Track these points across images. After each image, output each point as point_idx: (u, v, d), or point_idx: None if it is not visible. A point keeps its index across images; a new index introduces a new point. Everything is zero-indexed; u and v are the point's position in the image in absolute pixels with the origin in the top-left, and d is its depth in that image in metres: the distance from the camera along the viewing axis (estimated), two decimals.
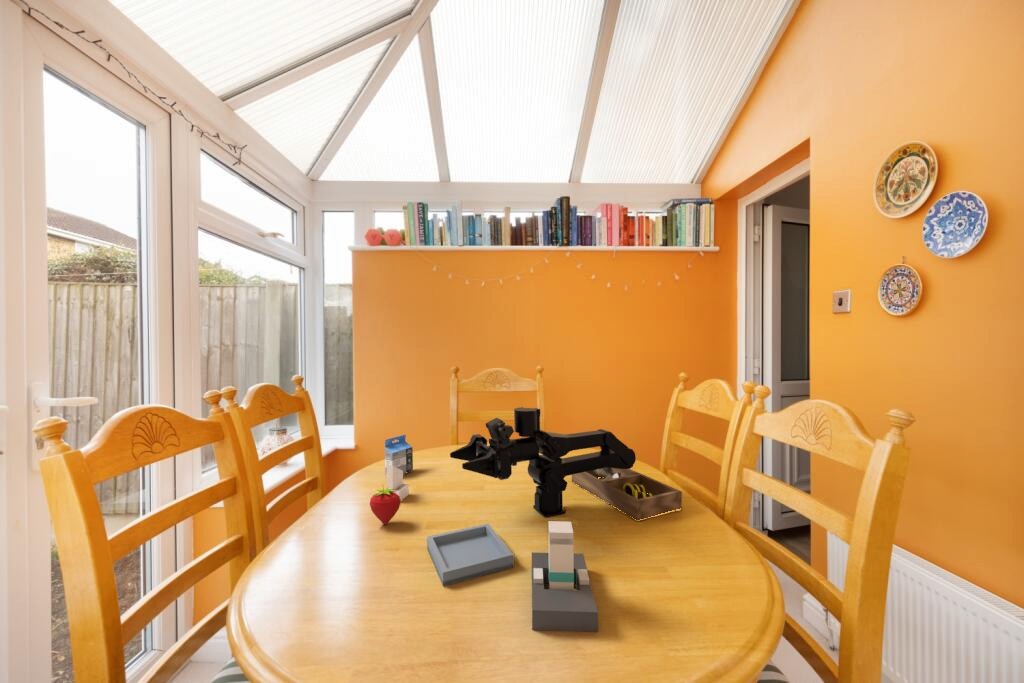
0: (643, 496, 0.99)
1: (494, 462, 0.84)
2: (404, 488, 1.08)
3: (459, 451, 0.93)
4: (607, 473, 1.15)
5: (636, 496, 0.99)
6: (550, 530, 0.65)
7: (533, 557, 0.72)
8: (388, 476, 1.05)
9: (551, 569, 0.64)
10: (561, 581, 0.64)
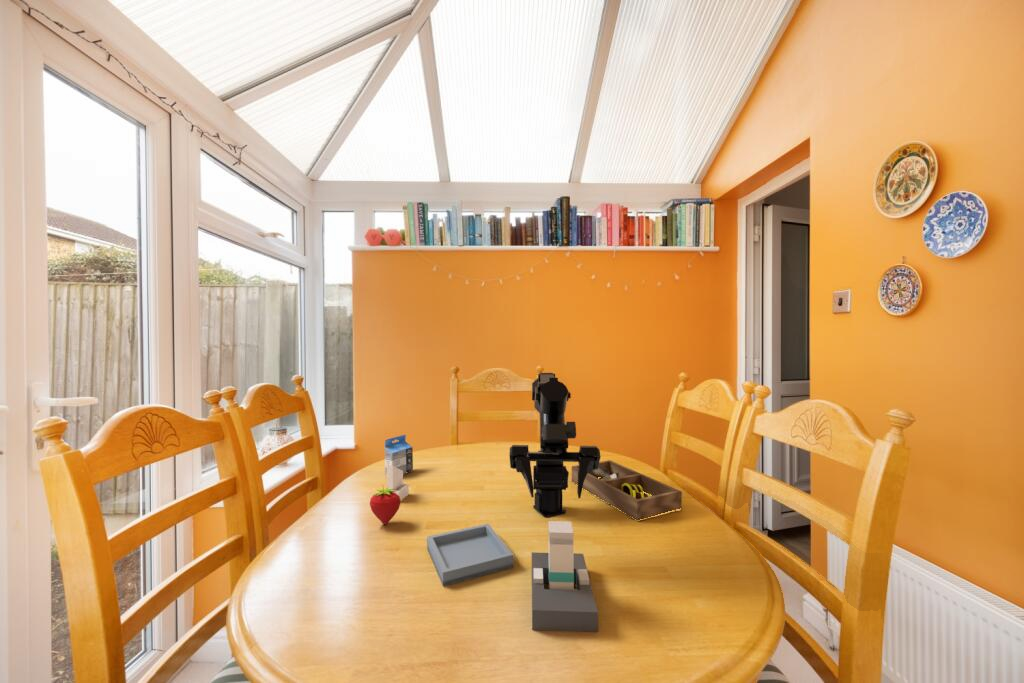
0: (641, 496, 0.99)
1: (592, 465, 0.78)
2: (404, 488, 1.08)
3: (532, 483, 0.76)
4: (605, 473, 1.15)
5: (634, 496, 0.98)
6: (550, 530, 0.65)
7: (533, 557, 0.72)
8: (388, 476, 1.05)
9: (551, 569, 0.64)
10: (561, 581, 0.64)
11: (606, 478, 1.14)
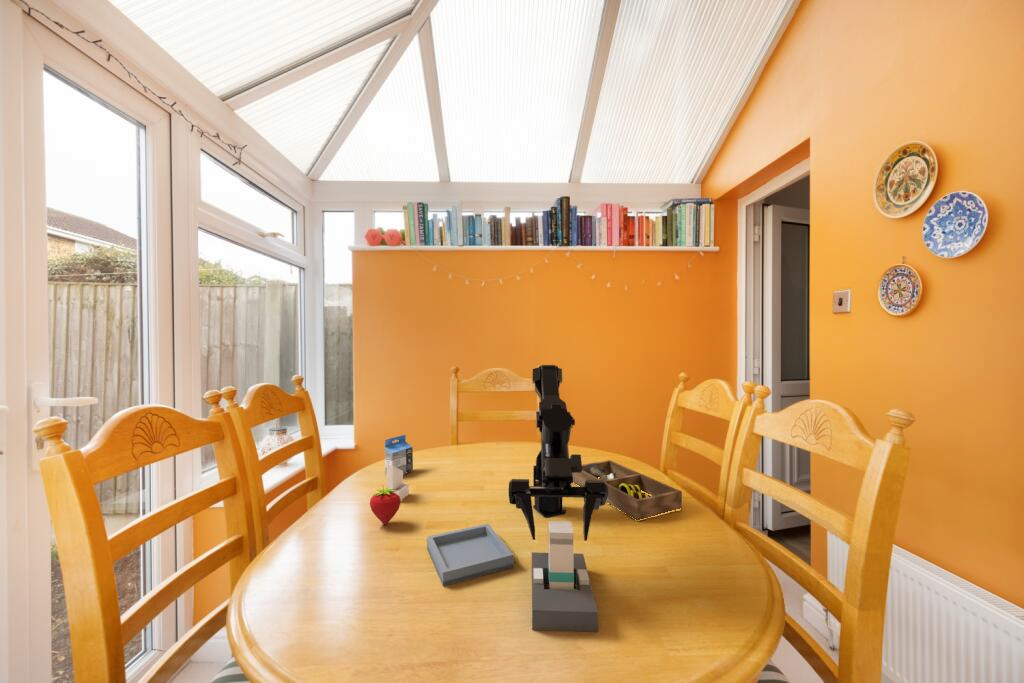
0: (639, 496, 0.99)
1: (599, 502, 0.71)
2: (404, 488, 1.08)
3: None
4: (602, 473, 1.15)
5: (632, 496, 0.98)
6: (550, 530, 0.65)
7: (533, 557, 0.72)
8: (388, 476, 1.05)
9: (551, 569, 0.64)
10: (561, 581, 0.64)
11: (603, 478, 1.14)
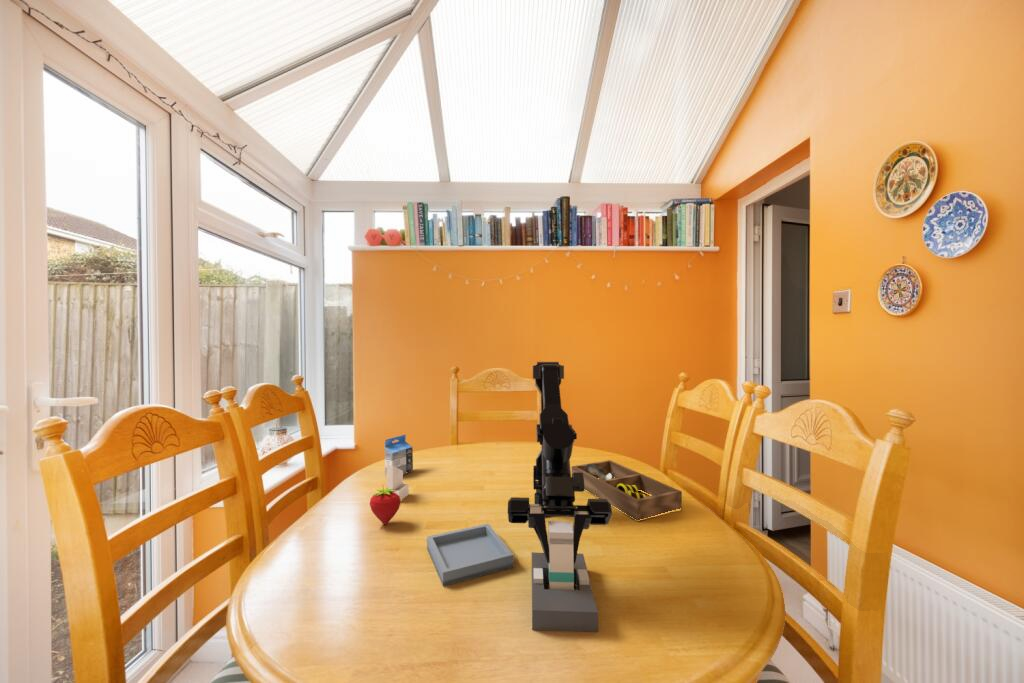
0: (637, 497, 0.99)
1: (589, 522, 0.68)
2: (404, 488, 1.08)
3: (548, 546, 0.66)
4: (600, 473, 1.15)
5: None
6: (550, 530, 0.65)
7: (533, 557, 0.72)
8: (388, 476, 1.05)
9: (551, 569, 0.64)
10: (561, 581, 0.64)
11: (601, 478, 1.14)
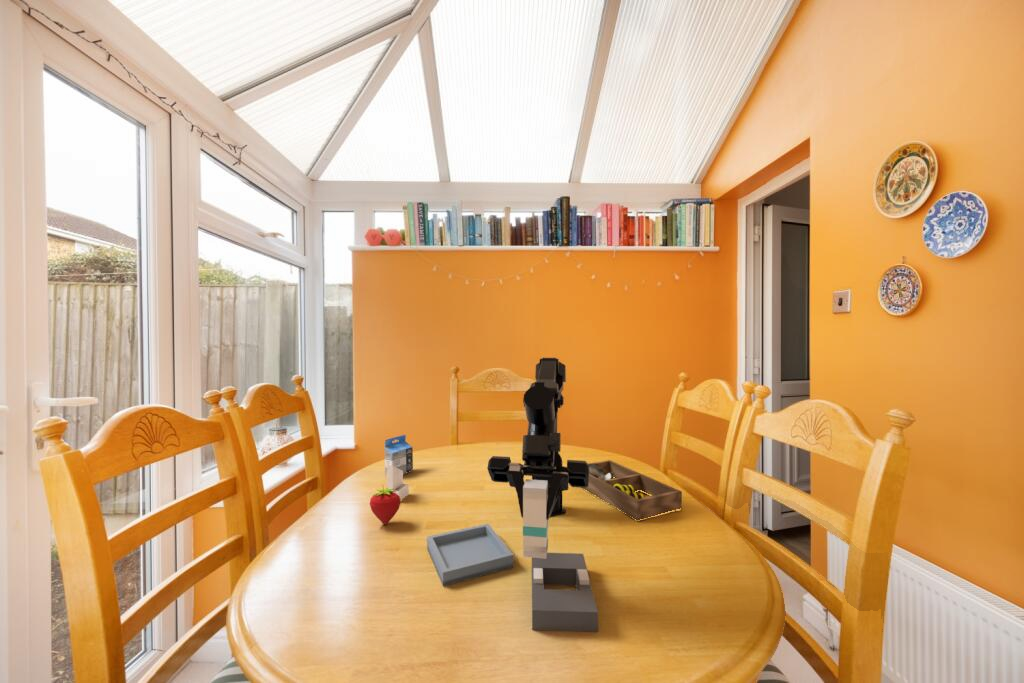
0: (635, 496, 0.99)
1: (566, 482, 0.69)
2: (404, 488, 1.08)
3: None
4: (600, 473, 1.15)
5: None
6: (524, 486, 0.66)
7: None
8: (388, 476, 1.05)
9: (524, 523, 0.66)
10: (534, 535, 0.65)
11: (601, 478, 1.14)
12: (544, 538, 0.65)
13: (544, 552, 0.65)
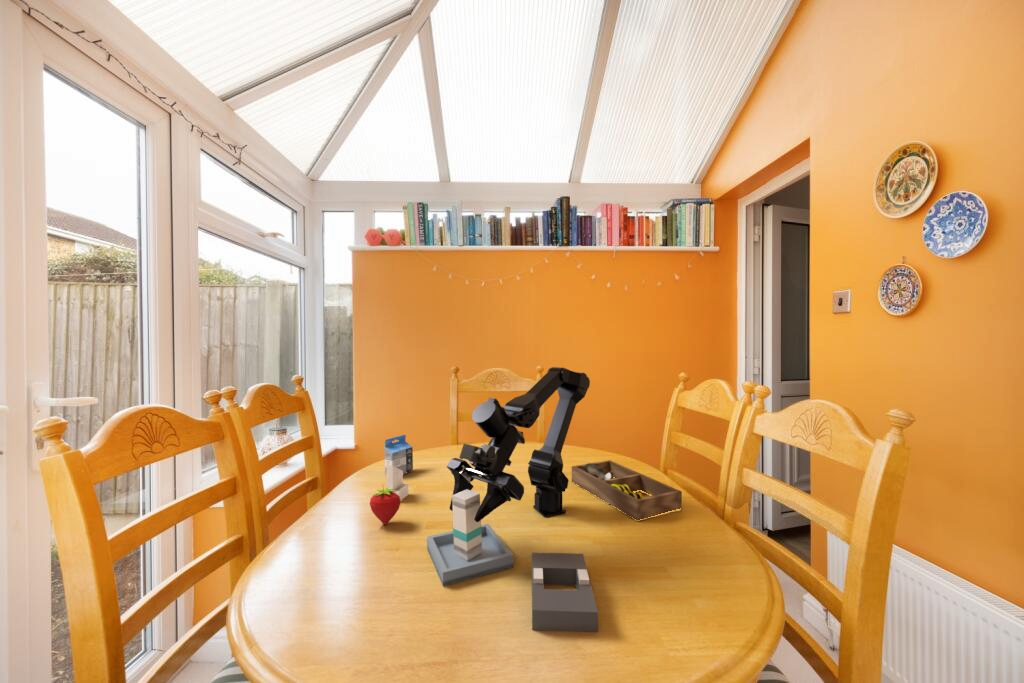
0: (634, 496, 0.99)
1: (501, 493, 0.75)
2: (404, 488, 1.08)
3: None
4: (600, 472, 1.15)
5: None
6: (455, 494, 0.78)
7: (533, 557, 0.72)
8: (388, 476, 1.05)
9: (454, 526, 0.77)
10: (460, 538, 0.76)
11: (601, 477, 1.14)
12: (465, 542, 0.75)
13: (466, 555, 0.75)
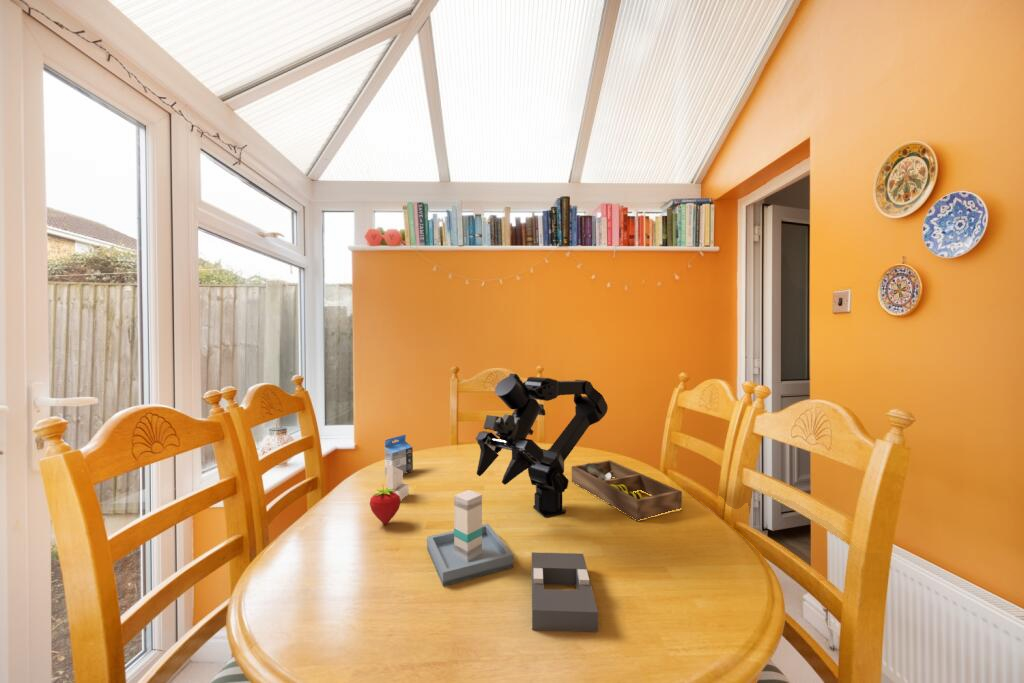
0: (634, 496, 0.99)
1: (525, 457, 0.82)
2: (404, 488, 1.08)
3: (481, 464, 0.89)
4: (600, 472, 1.15)
5: None
6: (457, 494, 0.78)
7: (533, 557, 0.72)
8: (388, 476, 1.05)
9: (455, 526, 0.77)
10: (461, 539, 0.76)
11: (601, 477, 1.14)
12: (466, 543, 0.75)
13: (466, 555, 0.75)
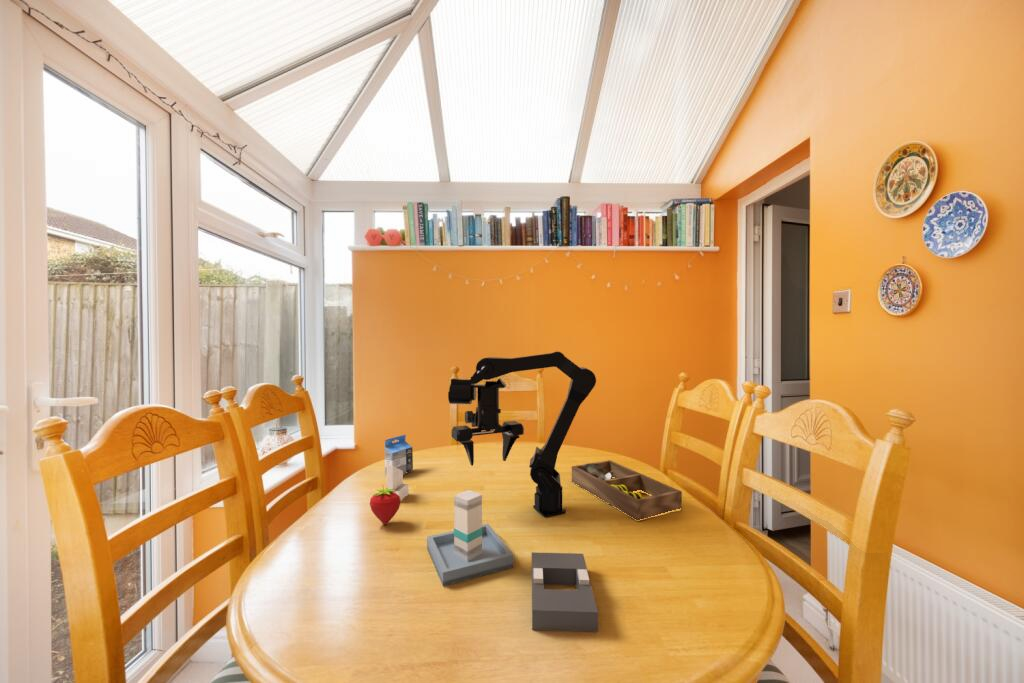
0: (634, 496, 0.99)
1: None
2: (404, 488, 1.08)
3: None
4: (600, 472, 1.15)
5: None
6: (457, 494, 0.78)
7: (533, 557, 0.72)
8: (388, 476, 1.05)
9: (455, 526, 0.77)
10: (461, 539, 0.76)
11: (601, 477, 1.14)
12: (466, 543, 0.75)
13: (466, 555, 0.75)
